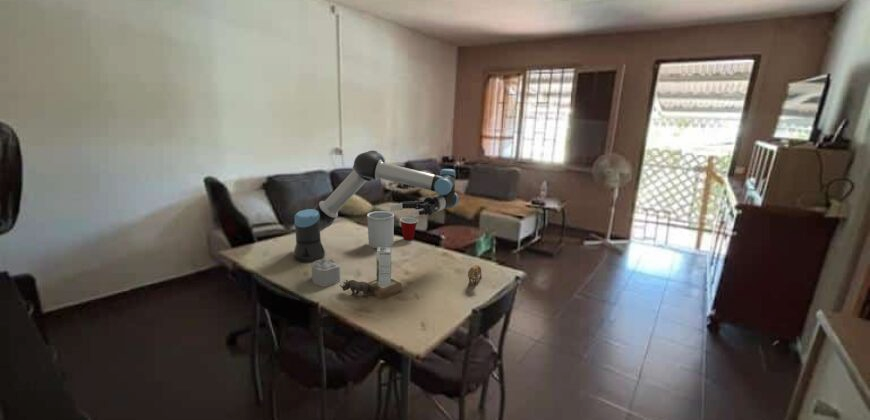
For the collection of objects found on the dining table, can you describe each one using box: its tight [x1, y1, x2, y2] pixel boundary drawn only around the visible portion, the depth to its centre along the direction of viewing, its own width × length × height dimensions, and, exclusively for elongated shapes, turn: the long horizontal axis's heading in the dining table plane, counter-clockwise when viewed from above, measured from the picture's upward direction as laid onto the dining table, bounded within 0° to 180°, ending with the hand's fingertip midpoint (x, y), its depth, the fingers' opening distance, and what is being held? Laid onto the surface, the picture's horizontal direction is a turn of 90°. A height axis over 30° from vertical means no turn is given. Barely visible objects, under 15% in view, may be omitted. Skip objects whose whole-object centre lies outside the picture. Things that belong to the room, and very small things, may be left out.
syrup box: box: [376, 246, 392, 285], centre depth 155 cm, size 6×6×14 cm
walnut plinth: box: [366, 278, 402, 300], centre depth 157 cm, size 10×10×4 cm
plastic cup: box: [399, 216, 419, 241], centre depth 224 cm, size 11×11×12 cm
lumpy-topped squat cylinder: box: [311, 257, 341, 287], centre depth 167 cm, size 10×13×9 cm
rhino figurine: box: [339, 279, 372, 299], centre depth 154 cm, size 4×14×6 cm, turn 71°
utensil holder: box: [366, 210, 395, 249], centre depth 212 cm, size 15×15×18 cm
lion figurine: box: [467, 264, 483, 286], centre depth 168 cm, size 15×5×9 cm, turn 167°
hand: (401, 211), depth 167 cm, fingers open, 13 cm apart
